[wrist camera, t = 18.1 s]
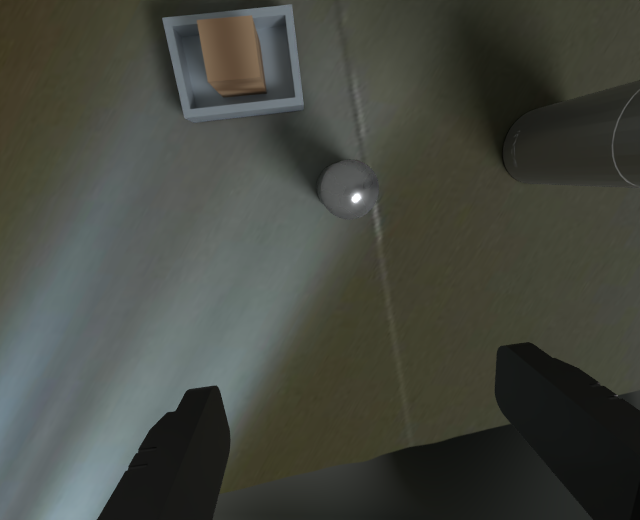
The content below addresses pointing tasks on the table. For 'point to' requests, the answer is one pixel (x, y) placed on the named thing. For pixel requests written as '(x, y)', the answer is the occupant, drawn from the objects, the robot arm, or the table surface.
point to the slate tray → (277, 63)
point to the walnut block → (232, 56)
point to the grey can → (348, 188)
